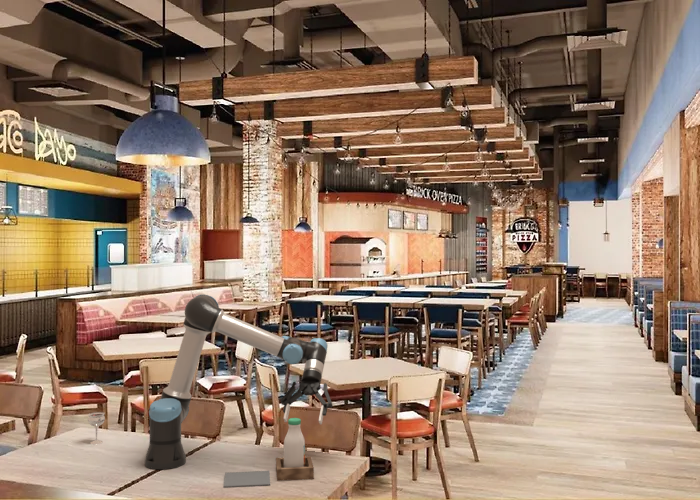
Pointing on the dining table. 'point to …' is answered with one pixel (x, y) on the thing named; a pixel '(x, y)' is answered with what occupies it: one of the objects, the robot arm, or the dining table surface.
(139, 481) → the dining table surface
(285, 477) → the walnut collar
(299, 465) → the milk bottle
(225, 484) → the slate mat
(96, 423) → the wineglass
